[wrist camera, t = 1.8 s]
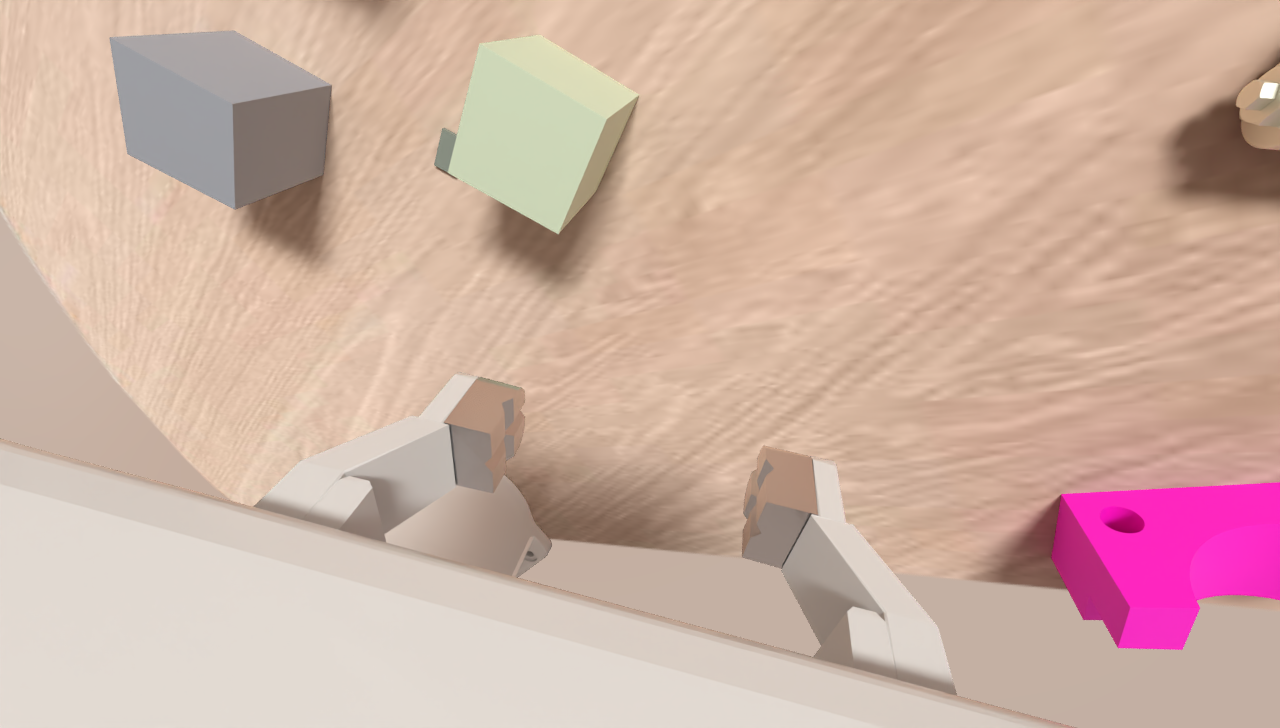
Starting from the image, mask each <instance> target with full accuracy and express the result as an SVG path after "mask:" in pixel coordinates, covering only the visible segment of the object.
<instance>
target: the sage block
mask: <svg viewBox="0 0 1280 728" xmlns="http://www.w3.org/2000/svg"><path fill="white" fill-rule="evenodd" d="M638 97H639V94H637V93H635V92H634V91H632V90H630V89H629V88H627V87H625V86H624V85H622V84H620V83H619V82H617V81H615V80H614V79H612V78H611V77H609V76H607V75H606V74H604V73H602V72H601V71H599V70H597V69H596V68H594V67H592V66H591V65H589V64H587V63H586V62H584V61H582V60H581V59H579V58H577V57H576V56H574V55H572V54H571V53H569V52H567V51H566V50H564V49H563V48H561V47H559V46H558V45H556V44H554V43H553V42H551V41H549V40H548V39H546V38H544V37H543V36H541V35H535V36H528V37H521V38H514V39H507V40H501V41H494V42H487V43H480V44H479V48H478V52H477V56H476V60H475V64H474V69H473V73H472V77H471V81H470V85H469V89H468V93H467V97H466V101H465V105H464V109H463V113H462V117H461V121H460V125H459V129H458V133H457V137H456V141H455V145H454V149H453V153H452V157H451V161H450V165H449V169H448V173H449V174H451V175H452V176H454V177H456V178H458V179H460V180H461V181H463V182H465V183H467V184H469V185H470V186H472V187H474V188H476V189H478V190H479V191H481V192H483V193H485V194H487V195H488V196H490V197H492V198H494V199H496V200H497V201H499V202H501V203H503V204H505V205H506V206H508V207H510V208H512V209H514V210H515V211H517V212H519V213H521V214H523V215H524V216H526V217H528V218H530V219H532V220H533V221H535V222H537V223H539V224H541V225H542V226H544V227H546V228H548V229H550V230H551V231H553V232H555V233H557V234H559V233H560V232H561V231H562V230H563V229H564V227H565V226H566V225H567V224H568V223H569V222H570V221H571V219H572V218H573V217H574V216H575V215H576V214H577V213H578V212H579V210H580V209H581V208H582V207H583V206H584V205H585V204H586V203H587V201H588V200H589V199H590V198H591V197H592V196H593V195H594V193H595V192H596V191H597V188H598V186H599V184H600V182H601V179H602V177H603V175H604V173H605V170H606V168H607V166H608V164H609V162H610V159H611V157H612V155H613V153H614V150H615V148H616V146H617V144H618V141H619V139H620V137H621V135H622V133H623V130H624V128H625V126H626V124H627V121H628V119H629V117H630V115H631V112H632V110H633V108H634V106H635V103H636V101H637V99H638Z"/></svg>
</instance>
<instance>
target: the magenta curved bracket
mask: <svg viewBox="0 0 1280 728" xmlns="http://www.w3.org/2000/svg"><path fill="white" fill-rule="evenodd" d="M1051 558H1052V560H1053V562H1054V564H1055V566H1056V568H1057V570H1058V572H1059V574H1060V576H1061V578H1062V580H1063V581H1064V583H1065V585H1066V587H1067V589H1068V591H1069V593H1070V595H1071V597H1072V599H1073V601H1074V602H1075V604H1076V606H1077V608H1078V610H1079V612H1080V614H1081V616H1082V618H1083V620H1103V622H1104V624H1105V625H1106V627H1107V629H1108V631H1109V633H1110V634H1111V636H1112V638H1113V640H1114V642H1115V644H1116V645H1117V647H1118V648H1137V649H1138V648H1139V649H1175V650H1182V649H1183V647H1184V644H1185V642H1186V640H1187V638H1188V635H1189V633H1190V630H1191V628H1192V626H1193V623H1194V621H1195V619H1196V616H1197V614H1198V612H1199V609H1200V607H1199V605H1198V603H1197V600H1200V599H1203V598H1208V597H1213V596H1222V595H1247V596H1258V597H1265V598H1271V599H1276V600H1280V482H1279V483H1261V484H1242V485H1223V486H1205V487H1186V488H1167V489H1149V490H1130V491H1111V492H1093V493H1074V494H1061V500H1060V506H1059V513H1058V519H1057V526H1056V532H1055V538H1054V545H1053V551H1052V557H1051Z"/></svg>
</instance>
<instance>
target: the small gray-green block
mask: <svg viewBox="0 0 1280 728" xmlns="http://www.w3.org/2000/svg"><path fill="white" fill-rule="evenodd" d="M456 137H457V135H456V134H454V133H453V132H451V131H449V130H447V129H446V128H443V129H442V133H441V137H440V141H439V146H438V150H437V155H436V159H435V163H434V165H435V166H437V167H438V168H440V169H442V170H444V171H446V172H447V173H448V169H449V165H450V161H451V157H452V153H453V149H454V145H455V141H456Z"/></svg>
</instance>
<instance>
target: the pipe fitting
mask: <svg viewBox="0 0 1280 728" xmlns="http://www.w3.org/2000/svg"><path fill="white" fill-rule="evenodd" d="M1236 107H1239V108H1240V113H1239V119H1241V120H1242V121H1241V131H1242V135H1243V138H1244V139H1245V141H1246V142H1247V143H1248V144H1249V145H1251V146H1253V147H1255V148H1260V149H1271V150H1280V63H1279V64H1277V65H1276V66H1275V67H1274V68H1273V69H1271V70H1270V71H1268V72H1267V73H1265V74H1264V75H1263V76H1261V77H1260V78H1259V79H1258V80H1253V81H1252V82H1250V83H1249V84H1248V85H1246V86H1245V87H1244V88H1243V89H1242V90H1241V92H1240V93H1239V95H1238V97H1237V101H1236Z"/></svg>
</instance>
